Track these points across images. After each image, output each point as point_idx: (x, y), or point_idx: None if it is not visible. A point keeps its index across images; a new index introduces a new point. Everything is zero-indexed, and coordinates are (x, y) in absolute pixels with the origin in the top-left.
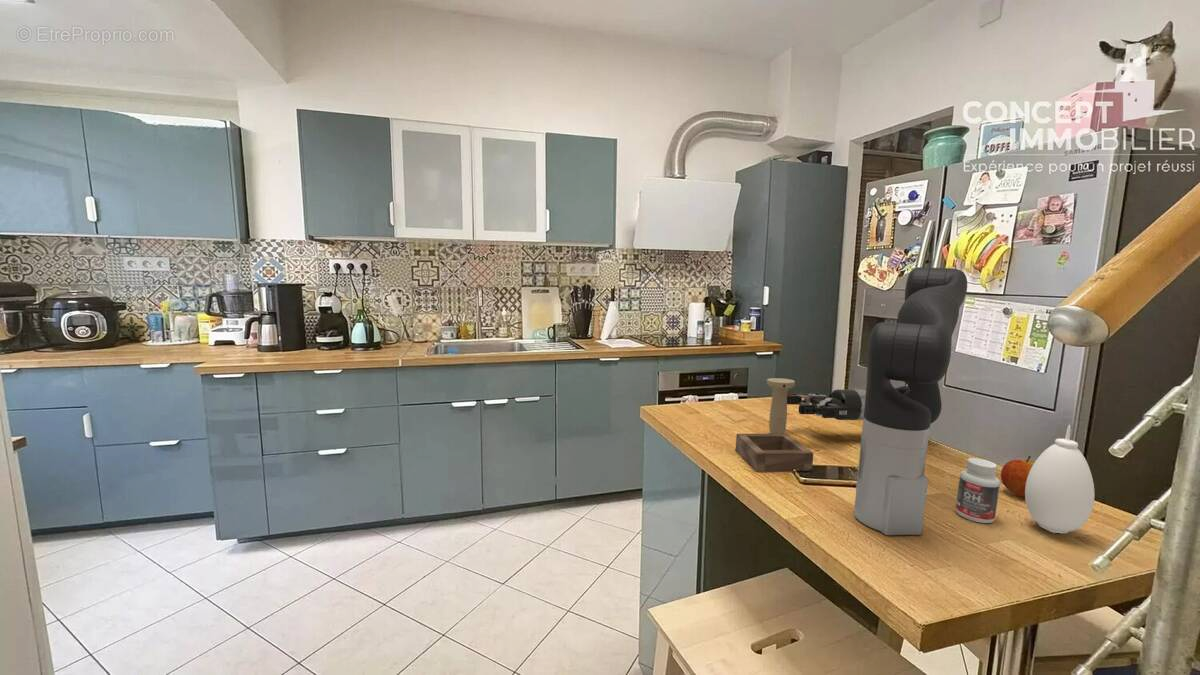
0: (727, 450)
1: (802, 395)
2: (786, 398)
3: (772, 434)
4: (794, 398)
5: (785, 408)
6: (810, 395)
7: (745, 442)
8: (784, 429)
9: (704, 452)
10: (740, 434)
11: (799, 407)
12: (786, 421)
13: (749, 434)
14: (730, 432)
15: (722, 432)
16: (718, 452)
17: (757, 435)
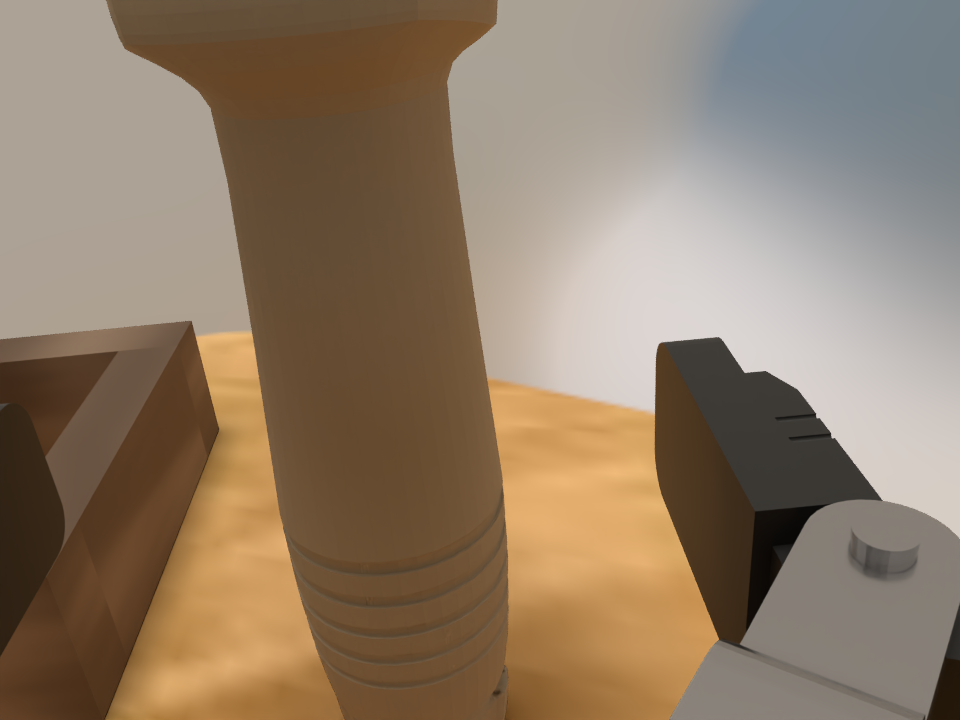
0: (230, 402)
1: (854, 600)
2: (252, 255)
3: (79, 471)
4: (715, 501)
5: (265, 401)
6: (672, 715)
7: (17, 340)
8: (324, 664)
9: (231, 335)
10: (167, 332)
11: (13, 434)
12: (334, 606)
13: (146, 363)
14: (602, 444)
15: (591, 409)
16: (212, 372)
17: (105, 393)
